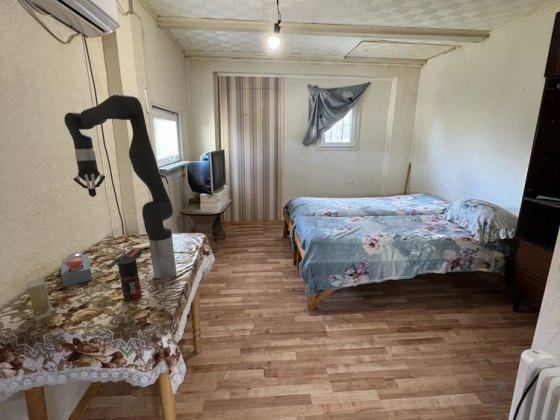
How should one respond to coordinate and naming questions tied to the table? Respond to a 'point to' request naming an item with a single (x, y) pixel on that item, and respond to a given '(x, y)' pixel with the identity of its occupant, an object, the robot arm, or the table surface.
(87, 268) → the press block
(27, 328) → the table surface
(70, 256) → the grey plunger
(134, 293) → the deodorant
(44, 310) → the skincare box
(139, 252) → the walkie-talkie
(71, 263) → the red plunger
